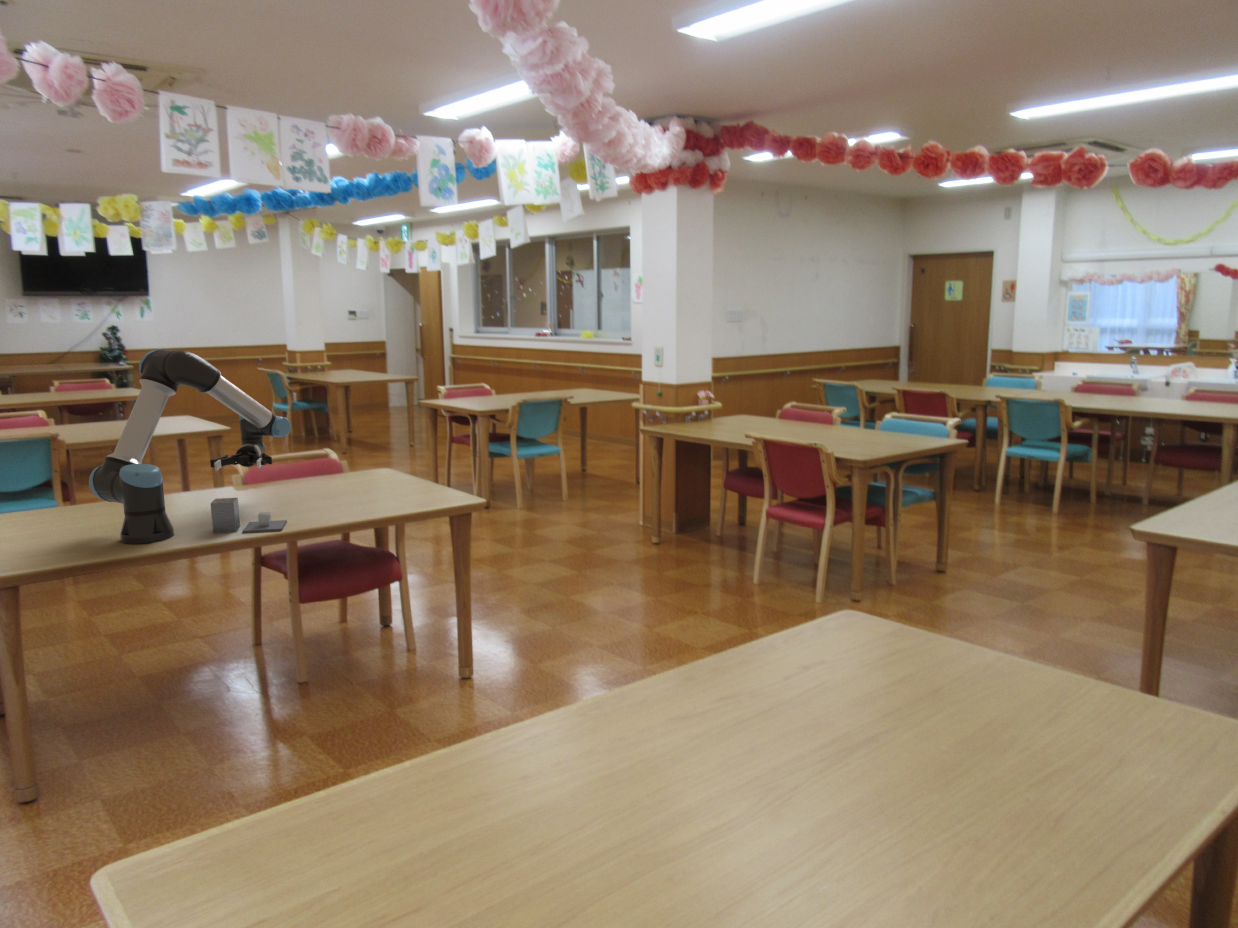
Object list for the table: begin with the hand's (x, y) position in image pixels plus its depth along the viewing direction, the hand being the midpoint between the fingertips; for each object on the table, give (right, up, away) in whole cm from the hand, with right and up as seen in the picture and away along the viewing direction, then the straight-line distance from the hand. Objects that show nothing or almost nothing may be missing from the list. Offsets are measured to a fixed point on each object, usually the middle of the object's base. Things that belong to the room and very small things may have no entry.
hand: (237, 466), depth 302 cm
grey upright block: (+1, -21, -10) cm, 24 cm away
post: (+13, -21, -8) cm, 25 cm away
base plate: (+13, -21, -8) cm, 25 cm away
